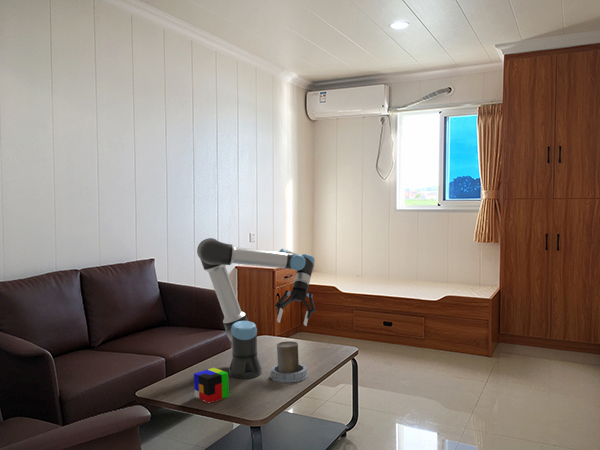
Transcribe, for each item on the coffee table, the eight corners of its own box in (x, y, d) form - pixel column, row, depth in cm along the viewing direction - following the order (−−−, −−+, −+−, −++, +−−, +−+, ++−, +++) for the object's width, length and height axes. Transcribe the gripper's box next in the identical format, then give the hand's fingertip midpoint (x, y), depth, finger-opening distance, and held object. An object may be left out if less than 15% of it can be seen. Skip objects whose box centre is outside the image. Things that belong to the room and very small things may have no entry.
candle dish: (263, 379, 229) (263, 371, 229) (281, 368, 244) (281, 360, 244) (297, 385, 221) (297, 376, 221) (314, 372, 236) (313, 365, 236)
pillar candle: (303, 373, 233) (302, 340, 232) (288, 378, 226) (287, 345, 225) (288, 369, 239) (287, 337, 239) (273, 374, 232) (272, 341, 232)
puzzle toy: (194, 397, 210) (193, 373, 210) (214, 390, 217) (214, 367, 217) (208, 403, 203) (207, 379, 203) (229, 396, 210) (228, 372, 210)
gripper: (327, 289, 253) (318, 329, 242) (280, 285, 261) (269, 323, 251) (323, 282, 247) (314, 322, 236) (276, 278, 255) (265, 317, 245)
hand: (291, 323), depth 243 cm, fingers open, 13 cm apart
